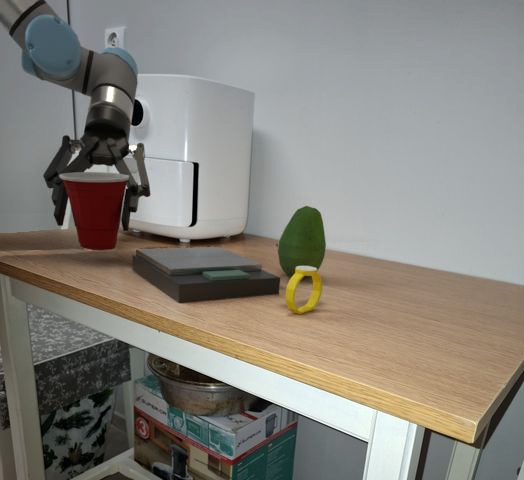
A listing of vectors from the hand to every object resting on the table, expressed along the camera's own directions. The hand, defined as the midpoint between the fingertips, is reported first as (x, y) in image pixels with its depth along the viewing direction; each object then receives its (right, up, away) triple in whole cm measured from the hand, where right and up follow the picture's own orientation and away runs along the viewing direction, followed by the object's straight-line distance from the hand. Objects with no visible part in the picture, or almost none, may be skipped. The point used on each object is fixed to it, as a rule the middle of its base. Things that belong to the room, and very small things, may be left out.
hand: (91, 223), depth 78 cm
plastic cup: (-1, -3, +5) cm, 6 cm away
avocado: (+34, -8, +5) cm, 35 cm away
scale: (+18, -10, -3) cm, 21 cm away
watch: (+33, -16, -13) cm, 39 cm away
